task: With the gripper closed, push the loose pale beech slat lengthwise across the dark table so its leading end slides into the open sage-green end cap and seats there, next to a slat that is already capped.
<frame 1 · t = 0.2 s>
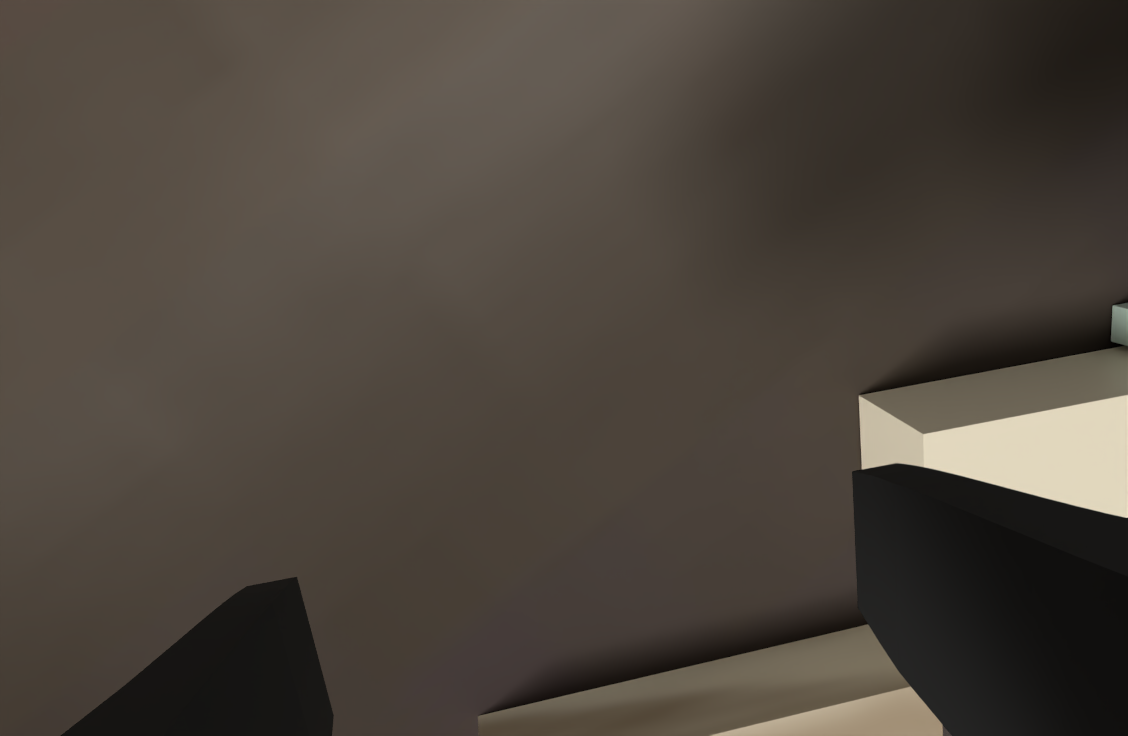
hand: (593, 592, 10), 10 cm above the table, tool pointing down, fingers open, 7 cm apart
slat: (690, 710, 23), on the table
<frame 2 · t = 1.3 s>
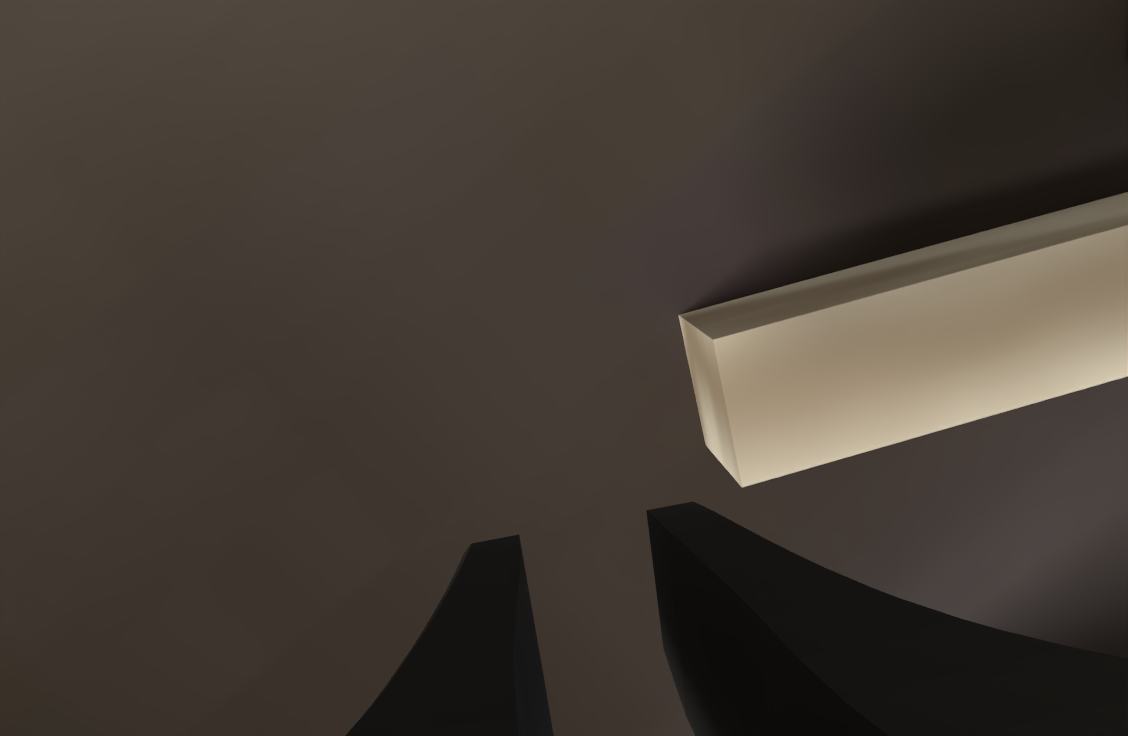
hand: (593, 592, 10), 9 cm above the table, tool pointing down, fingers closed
slat: (911, 316, 20), on the table
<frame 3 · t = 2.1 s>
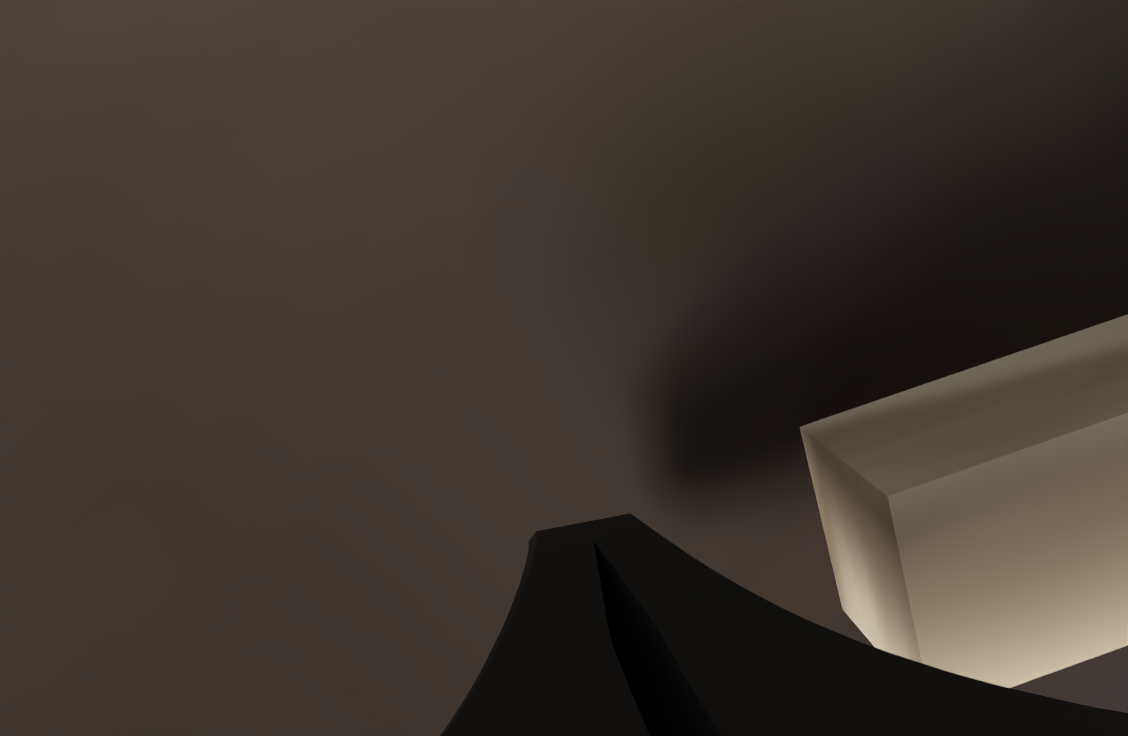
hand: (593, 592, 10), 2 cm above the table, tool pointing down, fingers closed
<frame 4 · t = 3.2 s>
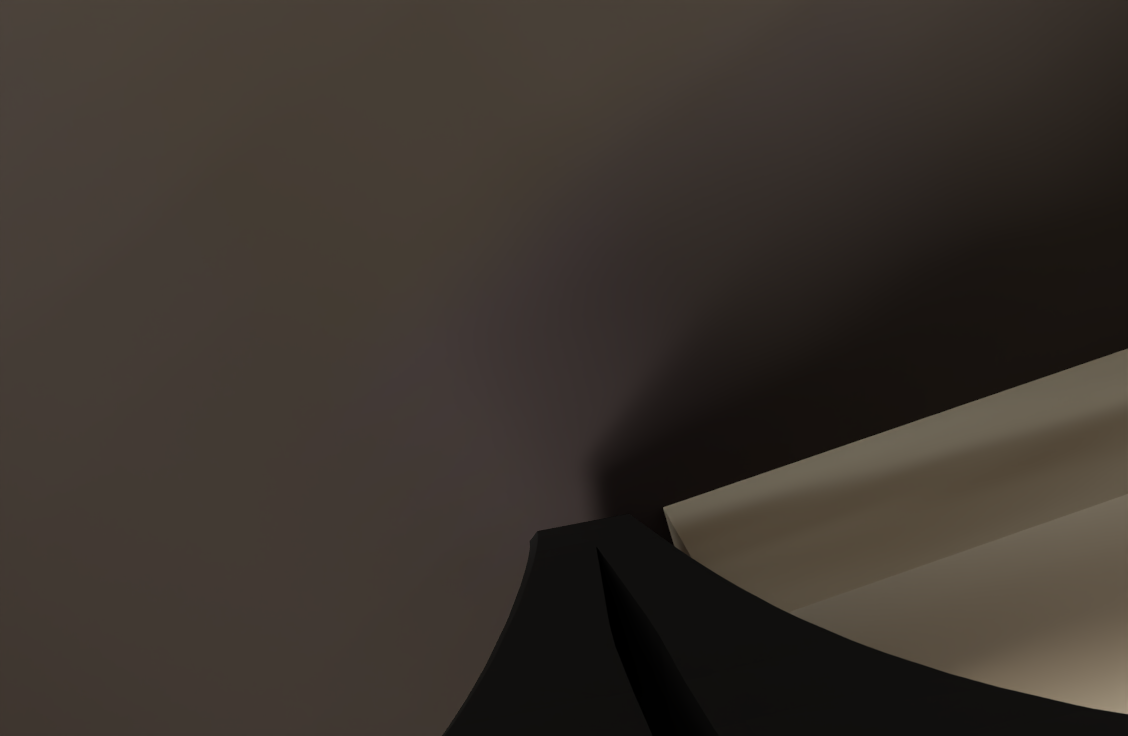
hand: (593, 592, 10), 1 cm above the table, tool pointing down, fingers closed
slat: (1070, 478, 12), on the table, touching gripper
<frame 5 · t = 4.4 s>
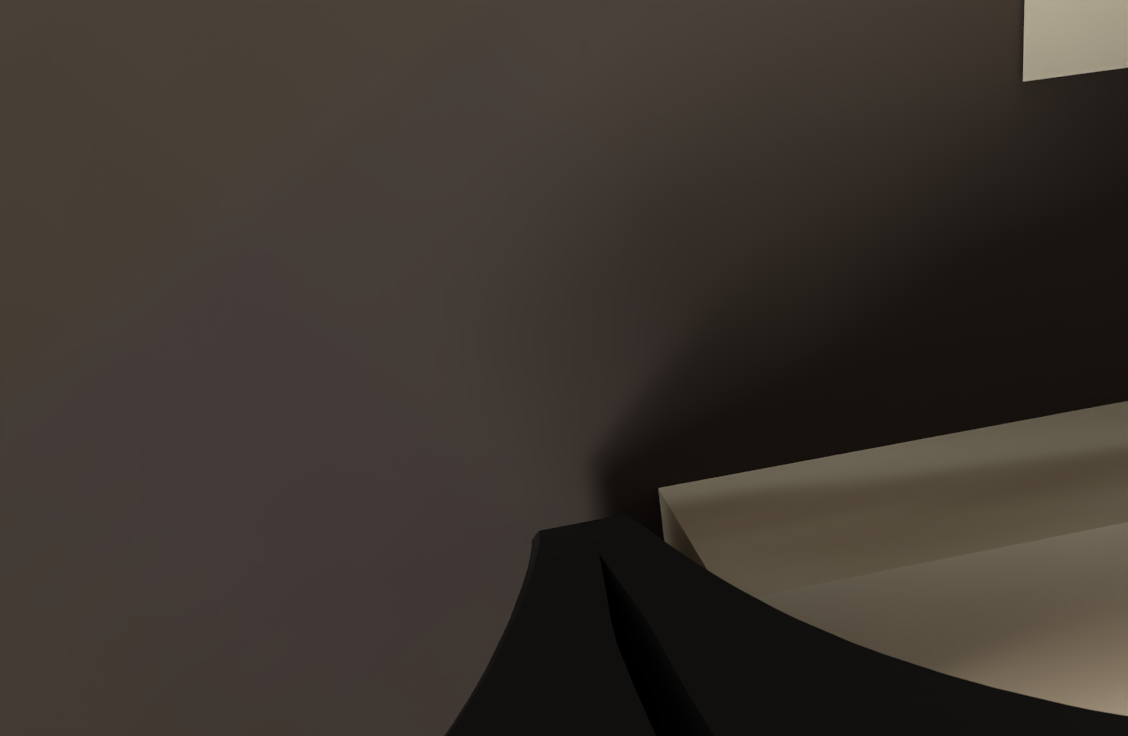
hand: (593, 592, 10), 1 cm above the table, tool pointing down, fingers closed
slat: (1051, 519, 12), on the table, touching gripper
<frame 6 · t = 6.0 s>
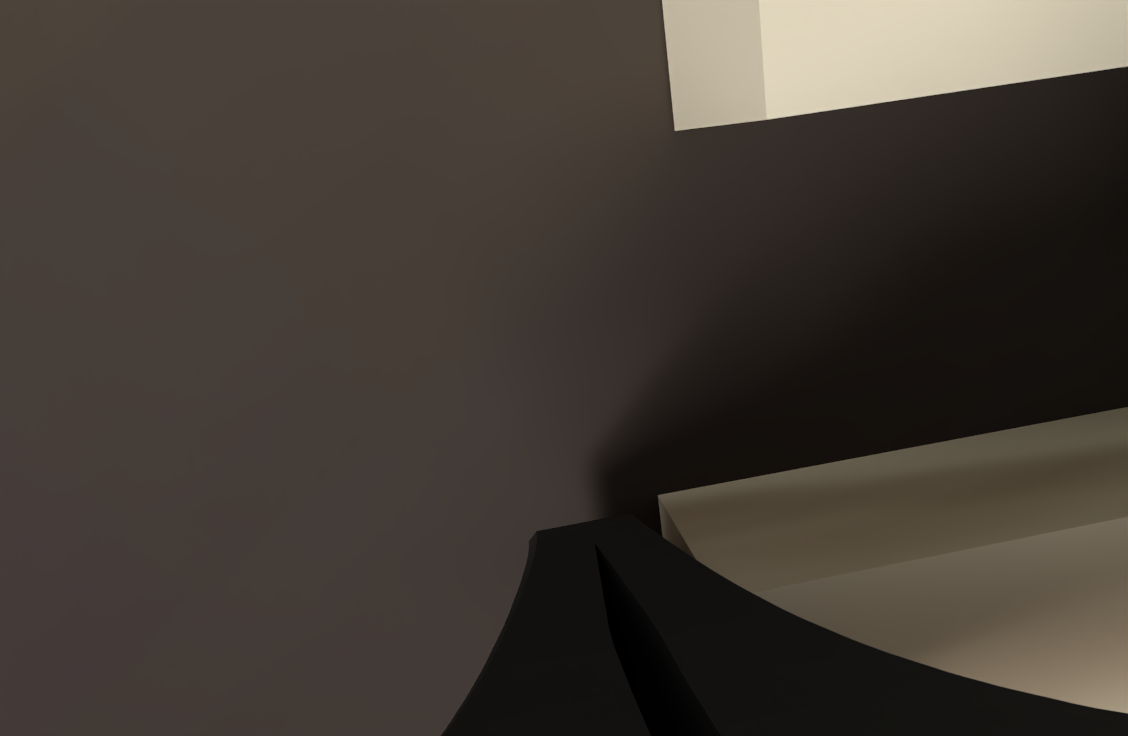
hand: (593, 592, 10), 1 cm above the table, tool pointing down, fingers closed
slat: (1038, 518, 12), on the table
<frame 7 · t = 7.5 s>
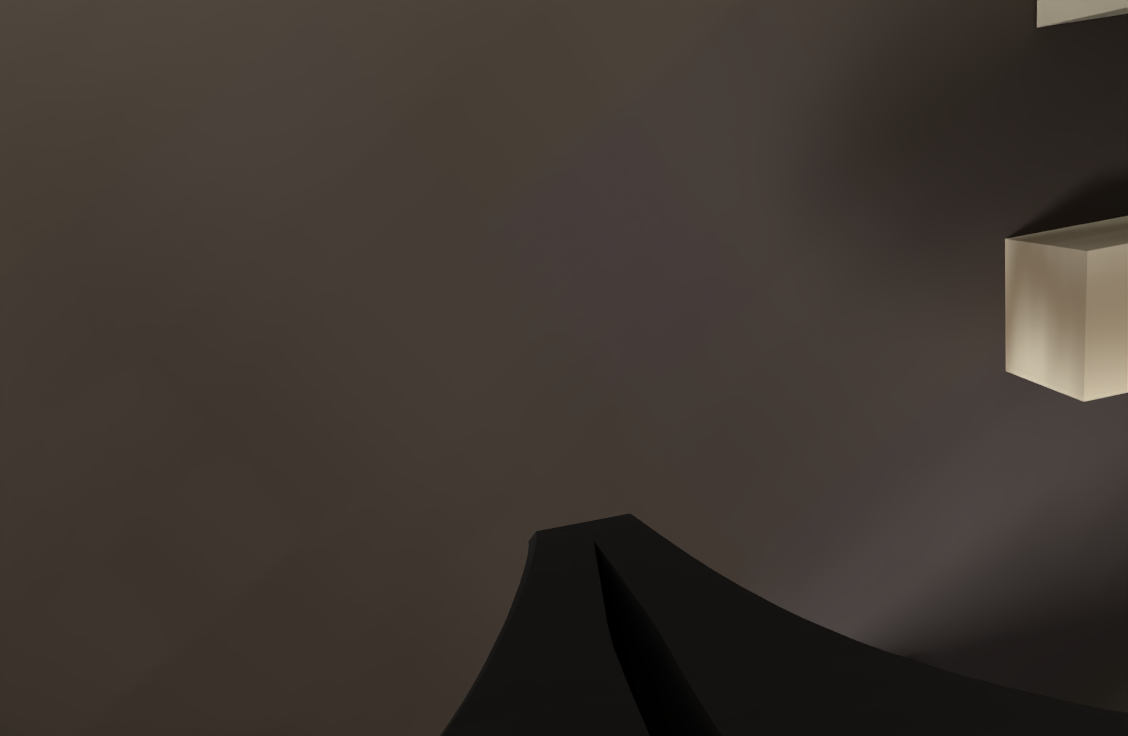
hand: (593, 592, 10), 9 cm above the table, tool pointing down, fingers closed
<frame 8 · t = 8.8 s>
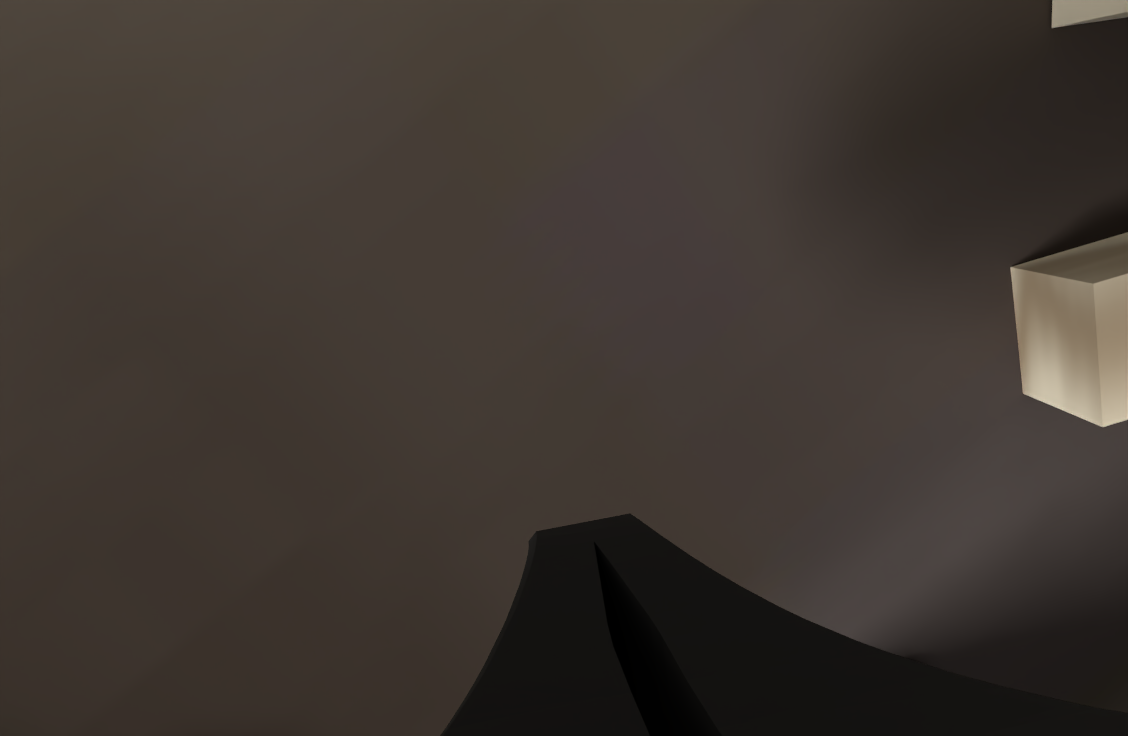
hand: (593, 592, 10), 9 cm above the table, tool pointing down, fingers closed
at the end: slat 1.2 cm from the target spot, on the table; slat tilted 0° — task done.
